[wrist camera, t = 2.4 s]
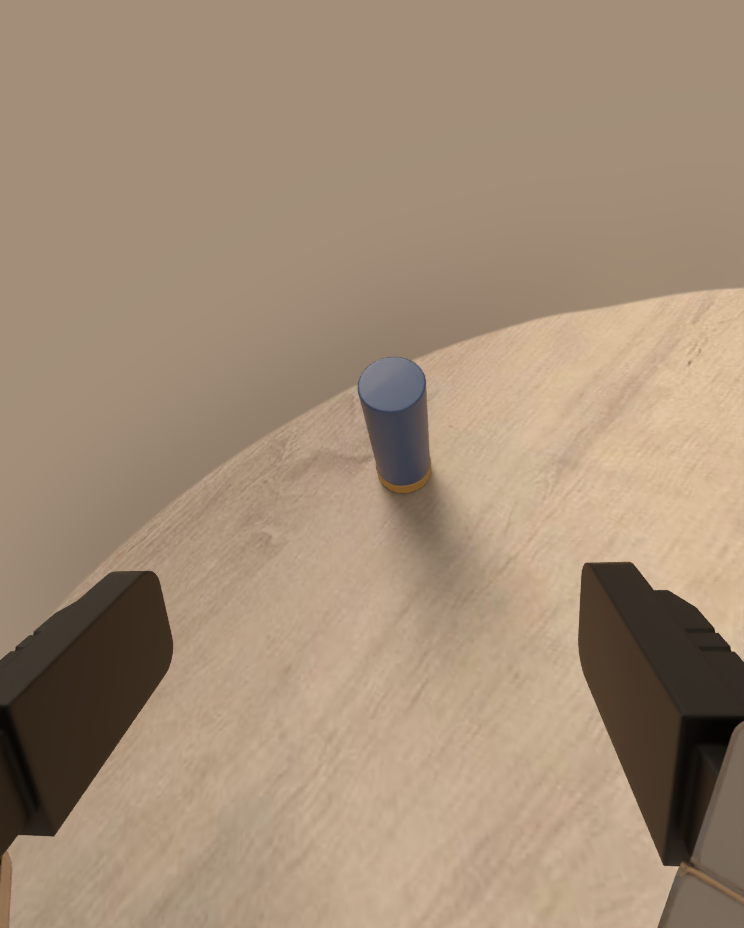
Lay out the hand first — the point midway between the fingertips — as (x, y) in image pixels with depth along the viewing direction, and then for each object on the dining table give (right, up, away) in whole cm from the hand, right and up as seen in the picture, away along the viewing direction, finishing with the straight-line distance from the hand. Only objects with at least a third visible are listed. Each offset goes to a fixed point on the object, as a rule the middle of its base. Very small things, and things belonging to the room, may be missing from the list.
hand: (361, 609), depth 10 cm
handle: (+2, +2, +20) cm, 21 cm away
